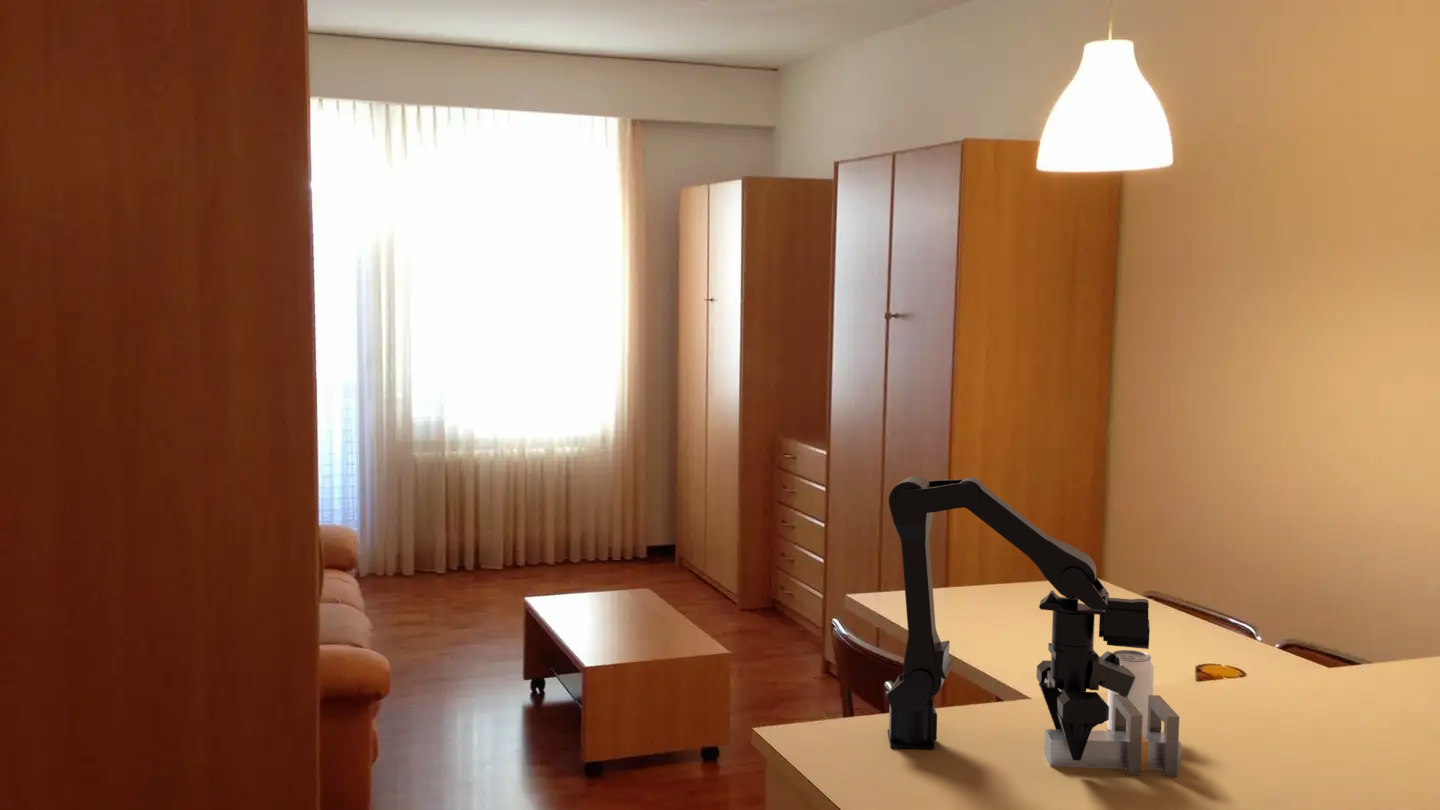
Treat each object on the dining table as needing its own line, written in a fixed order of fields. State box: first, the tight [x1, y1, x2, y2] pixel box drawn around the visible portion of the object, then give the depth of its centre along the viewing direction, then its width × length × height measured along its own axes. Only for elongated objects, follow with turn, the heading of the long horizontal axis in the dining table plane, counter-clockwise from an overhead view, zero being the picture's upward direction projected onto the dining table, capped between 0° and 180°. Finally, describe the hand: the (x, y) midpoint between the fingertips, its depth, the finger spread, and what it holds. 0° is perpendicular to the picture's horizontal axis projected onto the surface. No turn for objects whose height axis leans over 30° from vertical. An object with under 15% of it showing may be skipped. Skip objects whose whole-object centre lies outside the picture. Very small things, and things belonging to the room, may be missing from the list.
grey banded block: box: [1044, 728, 1182, 771], centre depth 170 cm, size 18×4×4 cm, turn 86°
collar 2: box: [1147, 694, 1180, 778], centre depth 169 cm, size 2×9×9 cm, turn 176°
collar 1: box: [1112, 694, 1143, 777], centre depth 169 cm, size 2×9×9 cm, turn 176°
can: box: [1106, 649, 1154, 732], centre depth 182 cm, size 6×6×12 cm
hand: (1068, 747), depth 170 cm, fingers open, 9 cm apart
